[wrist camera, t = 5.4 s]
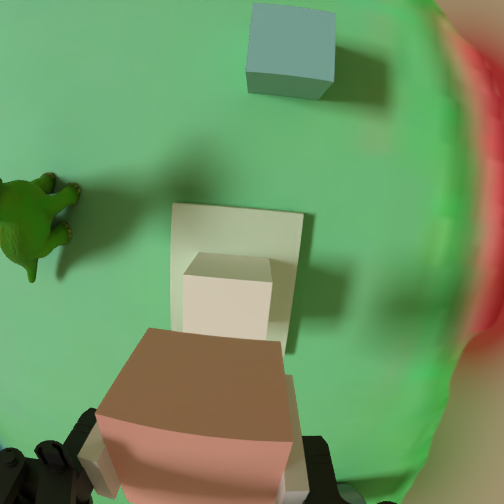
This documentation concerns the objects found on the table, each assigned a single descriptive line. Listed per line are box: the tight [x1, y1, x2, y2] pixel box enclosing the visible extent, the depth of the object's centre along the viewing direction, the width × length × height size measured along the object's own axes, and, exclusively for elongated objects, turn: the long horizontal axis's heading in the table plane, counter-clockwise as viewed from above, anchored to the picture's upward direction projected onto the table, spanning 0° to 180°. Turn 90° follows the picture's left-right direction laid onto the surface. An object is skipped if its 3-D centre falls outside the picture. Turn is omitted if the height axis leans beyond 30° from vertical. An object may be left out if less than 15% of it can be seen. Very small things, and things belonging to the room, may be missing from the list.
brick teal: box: [246, 3, 336, 100], centre depth 20 cm, size 6×6×6 cm
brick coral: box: [95, 328, 293, 504], centre depth 11 cm, size 6×6×6 cm
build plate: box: [170, 202, 304, 359], centre depth 25 cm, size 14×11×7 cm
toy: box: [0, 173, 80, 283], centre depth 19 cm, size 6×14×15 cm, turn 157°
